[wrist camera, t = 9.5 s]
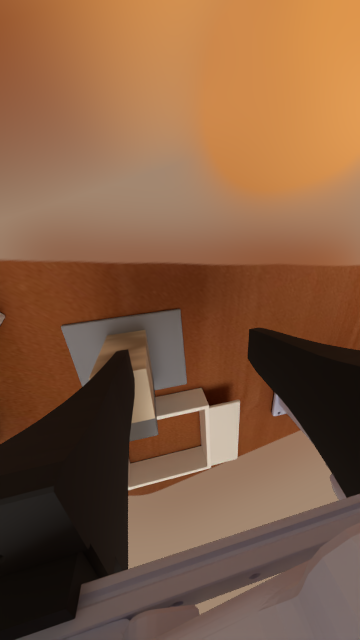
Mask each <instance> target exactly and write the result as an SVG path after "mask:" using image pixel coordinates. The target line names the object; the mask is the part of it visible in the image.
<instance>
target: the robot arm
mask: <svg viewBox="0 0 360 640" xmlns="http://www.w3.org/2000/svg"><path fill="white" fill-rule="evenodd" d="M248 359H249V361H250V363H251V364H252V366H253V367H254V369H255V370H256V372H257V373H258V374H259V375H260V376H261V377H262V379H263V380H264V381H265V382H266V383H267V384H268V385H269V386H270V388H271V389H272V390H273V391H274V392H275V393H274V400H273V408H272V414H273V416H278V415H282V414H286V413H287V414H288V415H289V417H290V418H291V419H292V420H293V421H294V422H295V423H296V425H297V426H298V427H299V428H300V429H301V430H302V432H303V433H304V434H305V435H306V436H307V437H308V438H309V439H310V440H311V442H312V443H313V444H314V445H315V447H316V449H317V450H318V452H319V453H320V455H321V456H322V458H323V459H324V461H325V463H326V465H327V467H328V468H329V469H330V471H331V472H332V474H331V475H330V480H331V483H332V488H333V490H334V492H335V494H336V496H337V498H338V499H339V501H336V502H333V503H330V504H327V505H324V506H321V507H318V508H314V509H312V510H308V511H305V512H302V513H299V514H296V515H293V516H290V517H287V518H284V519H281V520H278V521H275V522H272V523H268V524H265V525H262V526H259V527H256V528H253V529H250V530H247V531H244V532H241V533H238V534H235V535H232V536H229V537H226V538H222V539H219V540H216V541H213V542H210V543H207V544H204V545H201V546H198V547H195V548H192V549H189V550H186V551H183V552H179V553H176V554H173V555H170V556H167V557H164V558H161V559H158V560H155V561H152V562H149V563H146V564H143V565H140V566H137V567H134V568H130V569H128V465H129V441H130V431H131V423H132V415H133V407H134V399H135V378H134V373H133V369H132V364H131V360H130V355H129V351H128V349H126V350H120V351H116V352H115V353H114V355H113V356H112V357H111V358H110V359H109V360H108V361H107V362H106V364H105V365H104V366H103V367H102V368H101V369H100V370H99V371H98V372H97V373H96V374H95V375H94V376H93V377H92V378H91V379H90V380H89V381H88V382H87V383H86V384H85V385H84V386H83V387H82V388H81V389H80V390H78V391H77V392H76V393H75V394H74V395H72V396H71V397H70V398H69V399H68V400H66V401H65V402H64V403H62V404H61V405H60V406H58V407H57V408H56V409H54V410H53V411H51V412H50V413H49V414H47V415H46V416H44V417H43V418H42V419H40V420H39V421H37V422H36V423H34V424H33V425H31V426H30V427H28V428H27V429H25V430H23V431H22V432H20V433H19V434H17V435H15V436H14V437H12V438H10V439H9V440H7V441H5V442H4V443H2V444H0V640H360V350H354V349H347V348H341V347H336V346H331V345H326V344H321V343H317V342H313V341H309V340H305V339H301V338H297V337H293V336H290V335H286V334H283V333H279V332H276V331H272V330H268V329H264V328H254V329H249V344H248ZM282 572H283V573H282ZM279 573H281V574H279ZM276 574H279V575H277V576H275V577H273V578H271V579H269V580H267V581H265V582H264V583H262V584H260V585H257V586H256V587H254V588H252V589H250V590H248V591H246V592H244V593H242V594H240V595H238V596H236V597H234V598H232V599H230V600H228V601H226V602H224V603H222V604H221V605H218V606H216V607H214V608H212V609H211V610H209V611H207V612H205V613H203V614H201V615H199V610H198V608H197V607H196V606H195V604H198V603H201V602H203V601H206V600H209V599H212V598H214V597H217V596H219V595H222V594H225V593H228V592H231V591H233V590H236V589H239V588H241V587H244V586H246V585H249V584H252V583H255V582H257V581H260V580H263V579H265V578H268V577H271V576H274V575H276Z"/></svg>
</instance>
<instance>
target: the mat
mask: <svg viewBox="0 0 360 640" xmlns="http://www.w3.org/2000/svg"><path fill="white" fill-rule="evenodd" d="M61 329H62V331H63V334H64V337H65V340H66V343H67V345H68V348H69V351H70V354H71V356H72V359H73V362H74V365H75V368H76V370H77V373H78V376H79V379H80V381H81V384H82V387H83V386H84V385H85V384H86V383H87V382H88V381H89V377H90V374H91V372H92V370H93V367H94V365H95V363H96V360H97V358H98V355H99V353H100V351H101V348H102V346H103V344H104V341H105V339H106V336H107V335H114V334H121V333H127V332H134V331H141V330H145V331H146V337H147V343H148V349H149V355H150V361H151V367H152V373H153V379H154V388H155V390H158V389H163V388H168V387H173V386H178V385H183V384H187V379H186V368H185V357H184V346H183V335H182V323H181V312H180V309H174V310H167V311H160V312H153V313H146V314H138V315H131V316H124V317H117V318H110V319H103V320H96V321H89V322H81V323H74V324H67V325H62V326H61Z"/></svg>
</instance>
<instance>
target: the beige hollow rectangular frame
mask: <svg viewBox="0 0 360 640" xmlns="http://www.w3.org/2000/svg"><path fill="white" fill-rule="evenodd" d="M155 401H156V414H157V420H158V419H163V418H167V417H172V416H177V415H181V414H186V413H190V412H195V411H199V413H200V430H201V446H199V447H195V448H191V449H187V450H183V451H179V452H175V453H171V454H167V455H163V456H159V457H155V458H151V459H147V460H143V461H139V462H135V463H131V464H130V461H129V465H128V490H130V489H134V488H138V487H142V486H145V485H149V484H153V483H157V482H160V481H164V480H168V479H172V478H175V477H179V476H183V475H186V474H190V473H194V472H198V471H201V470H205V469H209V468H211V466H212V465H216V464H219V463H223V462H227V461H231V460H234V459H237V454H238V433H239V413H240V401H239V400H235V401H230V402H226V403H221V404H217V405H212V406H209V404H208V402H207V400H206V397H205V395H204V392H203V390H202V388H198V389H193V390H188V391H183V392H178V393H174V394H169V395H164V396H159V397H155Z"/></svg>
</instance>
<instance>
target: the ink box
mask: <svg viewBox="0 0 360 640" xmlns="http://www.w3.org/2000/svg"><path fill="white" fill-rule="evenodd" d="M4 318H5V315H4V314H2V313H0V325H1V323H2V322H3V320H4Z"/></svg>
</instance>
